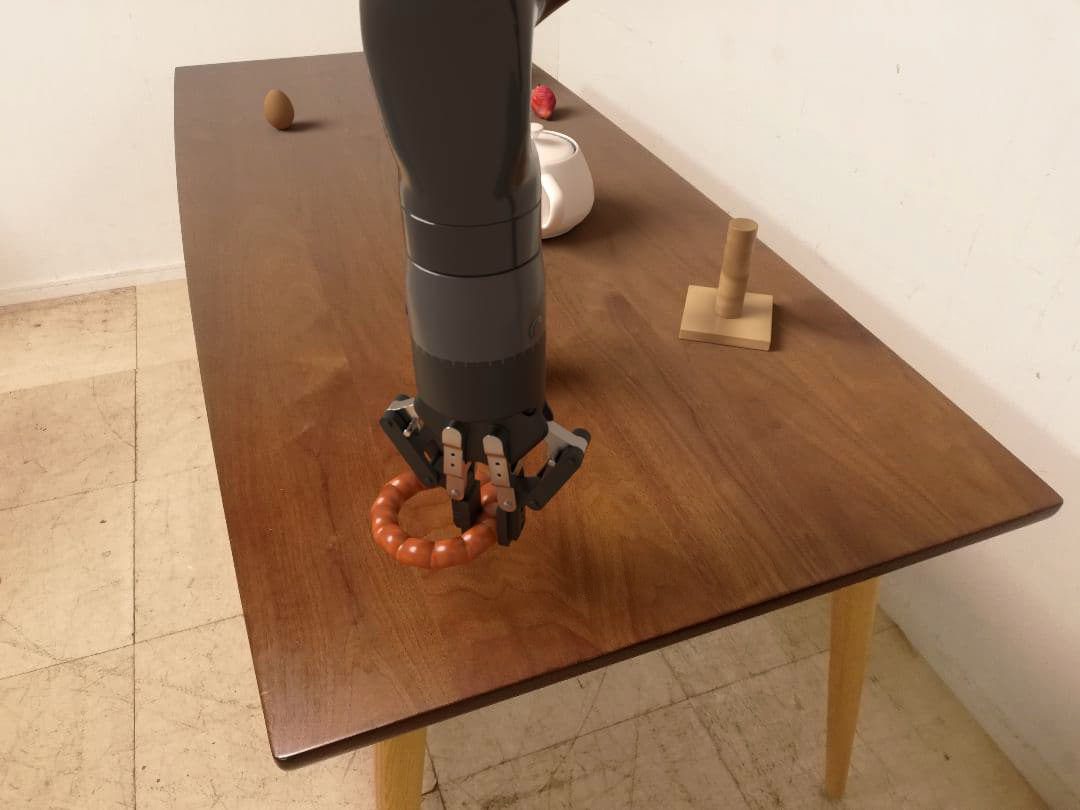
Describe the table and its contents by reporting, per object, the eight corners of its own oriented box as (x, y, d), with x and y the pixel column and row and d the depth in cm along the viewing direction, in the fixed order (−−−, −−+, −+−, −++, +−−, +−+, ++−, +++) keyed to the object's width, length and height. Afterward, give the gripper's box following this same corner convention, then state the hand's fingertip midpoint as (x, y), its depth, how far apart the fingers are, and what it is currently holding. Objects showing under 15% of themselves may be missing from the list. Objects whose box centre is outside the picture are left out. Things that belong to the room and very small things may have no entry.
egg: (294, 133, 126) (287, 94, 122) (265, 134, 126) (256, 94, 122) (299, 123, 130) (292, 84, 126) (270, 123, 129) (262, 84, 126)
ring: (521, 487, 59) (521, 468, 58) (485, 585, 52) (484, 567, 51) (401, 466, 61) (399, 448, 60) (351, 560, 54) (347, 541, 53)
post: (770, 304, 89) (791, 209, 82) (768, 351, 82) (791, 251, 75) (687, 293, 91) (701, 199, 83) (678, 338, 84) (692, 239, 77)
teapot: (620, 256, 97) (628, 156, 89) (492, 273, 94) (489, 171, 86) (559, 172, 116) (561, 84, 108) (451, 184, 112) (445, 93, 105)
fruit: (534, 123, 130) (534, 91, 127) (526, 110, 135) (526, 79, 132) (560, 121, 131) (560, 89, 128) (551, 108, 136) (551, 77, 133)
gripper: (616, 302, 46) (601, 515, 57) (391, 267, 49) (418, 475, 60) (582, 379, 41) (573, 599, 51) (331, 334, 44) (373, 550, 55)
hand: (489, 531), depth 56 cm, fingers closed on ring, 2 cm apart
